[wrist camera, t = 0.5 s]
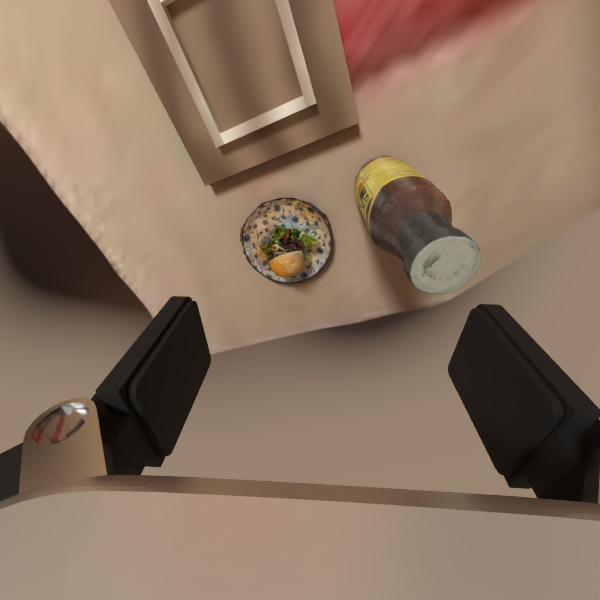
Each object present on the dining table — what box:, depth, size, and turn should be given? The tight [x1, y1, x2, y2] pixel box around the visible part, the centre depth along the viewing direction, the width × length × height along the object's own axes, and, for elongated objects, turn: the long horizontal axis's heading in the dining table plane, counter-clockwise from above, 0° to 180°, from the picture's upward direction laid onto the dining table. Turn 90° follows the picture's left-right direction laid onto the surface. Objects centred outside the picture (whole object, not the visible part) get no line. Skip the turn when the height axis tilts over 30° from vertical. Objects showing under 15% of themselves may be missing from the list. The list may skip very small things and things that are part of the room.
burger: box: [240, 198, 333, 284], centre depth 34 cm, size 12×12×8 cm
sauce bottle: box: [354, 156, 481, 294], centre depth 24 cm, size 6×6×20 cm
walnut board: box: [109, 0, 359, 186], centre depth 26 cm, size 18×18×2 cm
